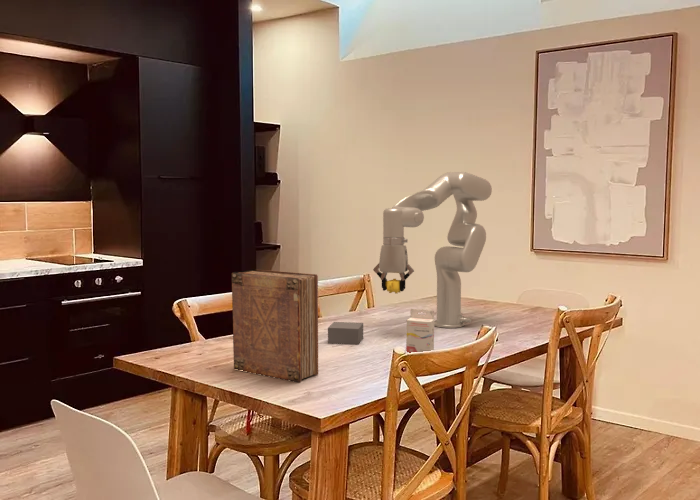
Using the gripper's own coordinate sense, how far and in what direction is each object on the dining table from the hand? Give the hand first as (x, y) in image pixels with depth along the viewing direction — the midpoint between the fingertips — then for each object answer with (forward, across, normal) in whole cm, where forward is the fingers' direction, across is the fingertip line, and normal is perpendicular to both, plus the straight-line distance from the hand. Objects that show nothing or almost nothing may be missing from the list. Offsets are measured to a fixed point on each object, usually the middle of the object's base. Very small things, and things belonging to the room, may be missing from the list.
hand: (393, 290), depth 254 cm
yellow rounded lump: (+1, 0, 0) cm, 1 cm away
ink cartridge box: (+18, -16, +23) cm, 33 cm away
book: (+17, +19, +60) cm, 65 cm away
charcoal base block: (+18, +14, +13) cm, 26 cm away
